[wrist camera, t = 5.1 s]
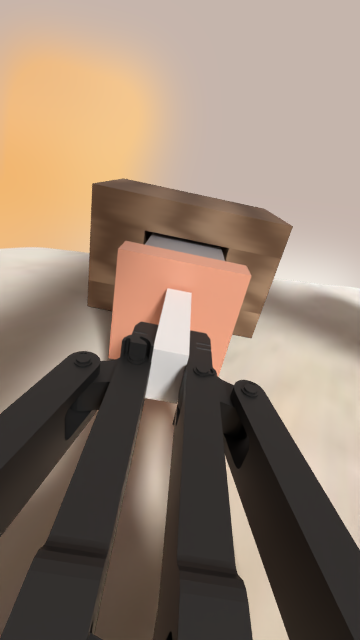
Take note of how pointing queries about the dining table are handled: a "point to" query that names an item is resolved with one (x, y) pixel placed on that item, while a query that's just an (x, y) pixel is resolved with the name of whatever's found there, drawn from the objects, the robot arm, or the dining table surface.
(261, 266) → the block
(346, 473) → the dining table surface
